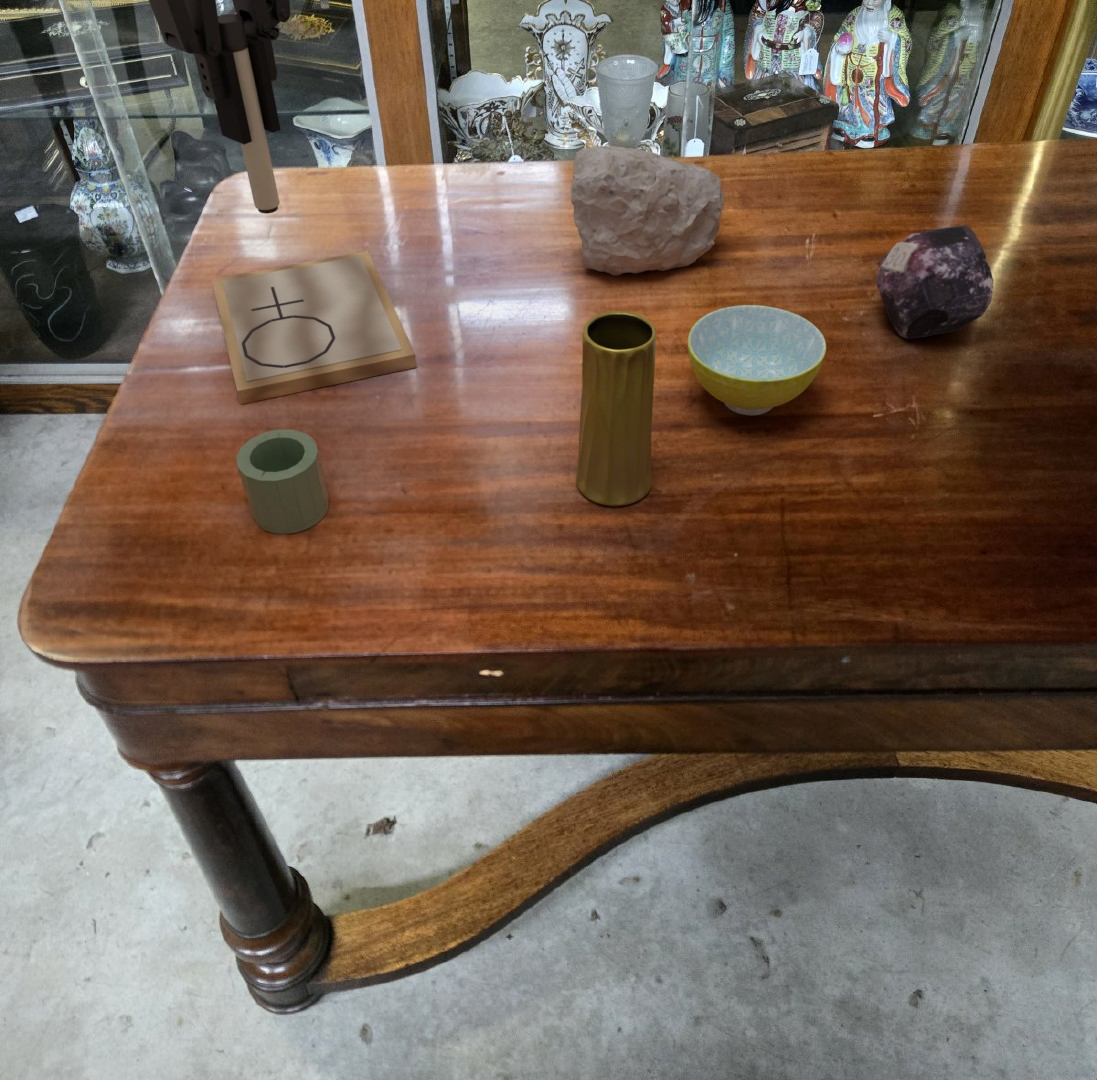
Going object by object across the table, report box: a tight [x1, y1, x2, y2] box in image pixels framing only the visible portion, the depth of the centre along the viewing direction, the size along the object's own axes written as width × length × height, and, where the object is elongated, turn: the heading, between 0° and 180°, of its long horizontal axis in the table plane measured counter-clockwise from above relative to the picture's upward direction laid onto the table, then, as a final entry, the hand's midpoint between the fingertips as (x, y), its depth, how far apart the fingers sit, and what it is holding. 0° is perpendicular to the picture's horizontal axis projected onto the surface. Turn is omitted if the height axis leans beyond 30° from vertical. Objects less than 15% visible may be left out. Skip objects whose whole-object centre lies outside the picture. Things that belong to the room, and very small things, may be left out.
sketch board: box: [211, 250, 418, 405], centre depth 99 cm, size 16×20×2 cm
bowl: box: [687, 304, 827, 416], centre depth 89 cm, size 11×12×6 cm
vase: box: [575, 310, 657, 507], centre depth 78 cm, size 6×6×14 cm
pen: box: [218, 13, 281, 215], centre depth 80 cm, size 2×2×15 cm
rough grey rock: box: [570, 145, 725, 276], centre depth 103 cm, size 16×9×15 cm, turn 108°
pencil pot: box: [235, 429, 330, 535], centre depth 80 cm, size 6×6×6 cm
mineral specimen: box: [875, 224, 995, 339], centre depth 96 cm, size 10×10×10 cm
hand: (251, 131), depth 80 cm, fingers closed on pen, 2 cm apart
